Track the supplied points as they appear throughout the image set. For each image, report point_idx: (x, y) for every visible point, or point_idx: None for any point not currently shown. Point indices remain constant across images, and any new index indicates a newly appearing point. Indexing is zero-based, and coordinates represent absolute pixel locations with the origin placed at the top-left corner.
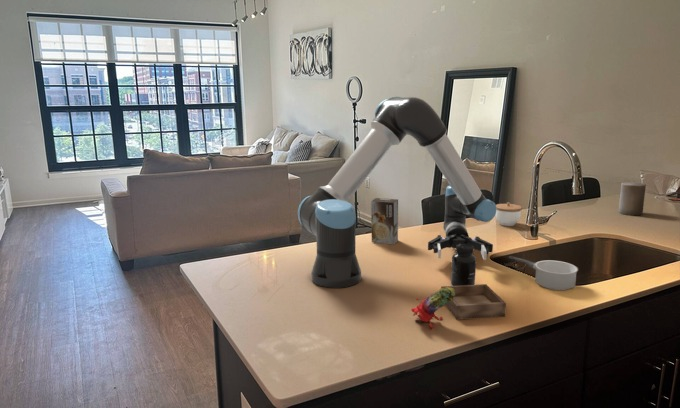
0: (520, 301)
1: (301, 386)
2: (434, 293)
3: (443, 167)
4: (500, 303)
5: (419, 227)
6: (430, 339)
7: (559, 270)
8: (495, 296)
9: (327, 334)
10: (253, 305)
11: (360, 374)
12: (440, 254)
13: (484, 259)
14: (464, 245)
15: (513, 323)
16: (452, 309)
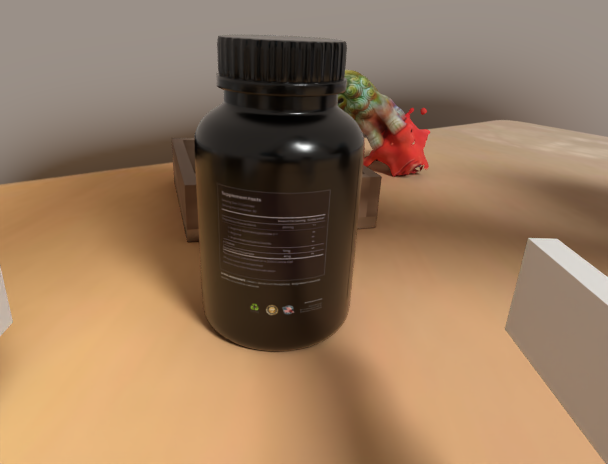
0: (52, 225)
1: (499, 123)
2: (382, 95)
3: None
4: (189, 138)
5: None
6: (366, 149)
7: None
8: (186, 152)
9: (564, 156)
10: None
11: (443, 127)
12: (517, 290)
13: (2, 318)
14: (283, 37)
15: (166, 169)
16: None
